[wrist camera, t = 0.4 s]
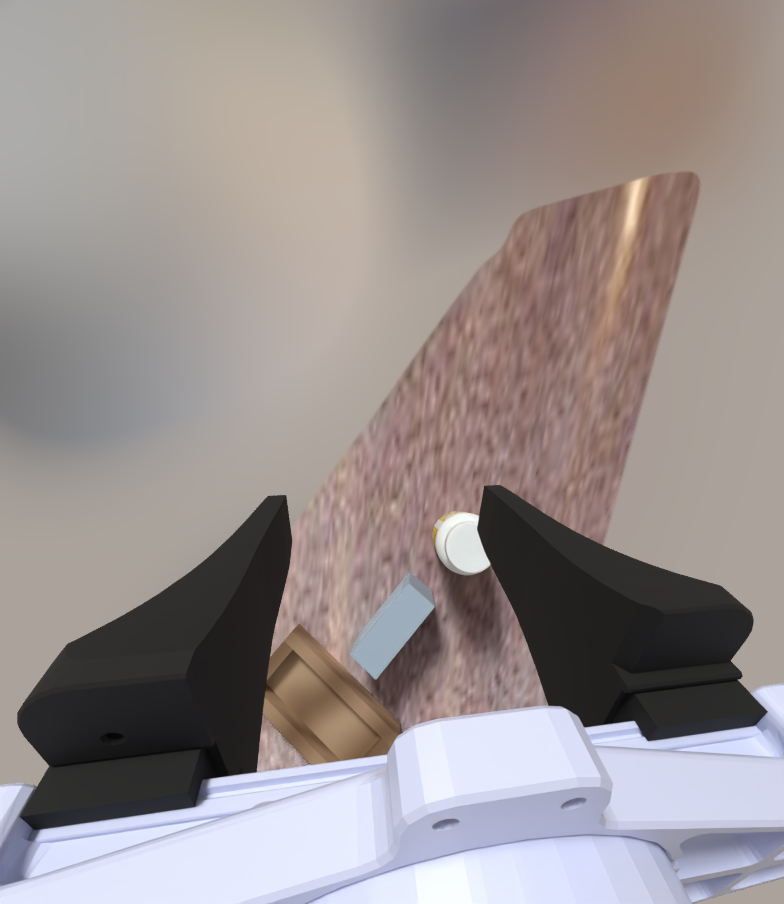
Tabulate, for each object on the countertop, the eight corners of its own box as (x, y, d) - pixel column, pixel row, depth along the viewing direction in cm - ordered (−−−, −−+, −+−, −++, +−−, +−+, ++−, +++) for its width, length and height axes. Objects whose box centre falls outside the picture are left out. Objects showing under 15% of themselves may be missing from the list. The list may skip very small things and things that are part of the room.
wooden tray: (400, 723, 35) (399, 737, 33) (351, 785, 35) (347, 803, 33) (299, 623, 37) (292, 631, 35) (251, 680, 37) (241, 691, 35)
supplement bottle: (450, 501, 38) (462, 499, 29) (492, 531, 38) (518, 539, 28) (421, 543, 38) (424, 554, 28) (463, 573, 37) (481, 596, 28)
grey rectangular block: (409, 570, 38) (408, 582, 32) (431, 591, 37) (435, 607, 31) (359, 631, 37) (349, 654, 31) (382, 652, 37) (376, 680, 31)
